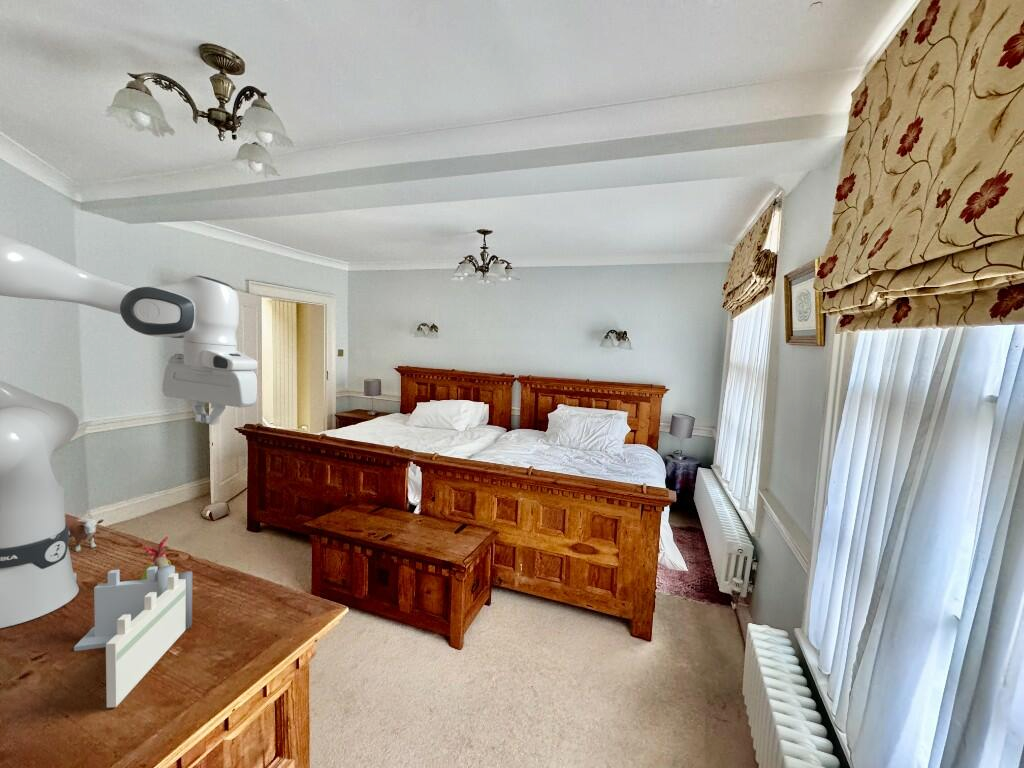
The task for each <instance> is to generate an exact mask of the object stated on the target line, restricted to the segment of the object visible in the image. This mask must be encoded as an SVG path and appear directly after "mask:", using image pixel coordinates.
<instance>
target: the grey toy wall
mask: <svg viewBox="0 0 1024 768" xmlns="http://www.w3.org/2000/svg"><path fill="white" fill-rule="evenodd" d="M172 565H173V564H171V565H169V566H164V567H162V568H160V569H158V566H155V567H149V568H148V569H147V579H146V580H140V579H137V580H125V581H120V579H121V578H120V576H121V574H120V571H121V570H120V569H111V570H110V571H108V572H107V582H104V583H97V585H96V586H95V587H93V588H94V589H93V591H94V592H93V595H94V596H93V598H94V599H93V600H94V603H93V604H94V605H93V606H94V608H93V609H94V626H92V627H91V629H90V630H89V631H88V632H87V633H86V634H85V635H84V636H82V638H81V639H80V640H79V641H78V642H77V643H76V644H75V645H74V646H73V651H74V652H80V651H85V650H94V649H101V648H106V643H107V642H109V641H110V640H111V639H112V638H113V637H114V636H115V635H116V634H117V620H118V619H119V618H120V617H121V616H122V615H125V614H131V621H132V620H133V619H134V618H135V617H137V616H138V615H139V614H140V613H141V612H142V611H143V610H144V597H145V596H146V595H147V594H148V593H149V592H157V598H158V597H159V596H160V595H161V594H162V593H164V592H165V591H166V590H167V581H168V576H169V575H171V574H172V573H176V566H175V565H173V566H172Z"/></svg>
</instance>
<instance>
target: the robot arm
mask: <svg viewBox="0 0 1024 768" xmlns="http://www.w3.org/2000/svg"><path fill="white" fill-rule="evenodd" d="M0 296H2V297H8V298H19V299H28V300H29V299H30V300H31V299H32V300H33V299H34V300H45V301H46V300H47V301H58V302H66V303H75V304H81V305H84V306H89V307H92V308H96V309H99V310H104V311H107V312H110V313H114V314H118V315H120V316H121V318H122V320H123V321H124V323H125V324H126V326H128V327H129V328H130V329H132V330H133V331H134V332H137V333H139V334H142V335H146V336H149V337H155V338H156V337H157V338H158V337H161V338H164V337H165V338H172V339H183V338H184V342H183V343H184V344H183V345H184V346H183V354H182V353H175V354H173V355H171V356H170V357H169V359H168V364H167V365H166V367H165V369H164V374H163V379H162V387H161V388H162V389H161V391H162V393H163V395H164V397H169V398H174V399H181V400H188V401H190V406H191V408H192V411H193V413H194V415H195V417H194V422H196V423H201V424H204V423H206V424H207V425H212V426H214V425H219V424H220V418H221V416H222V414H223V412H225V409H226V406H227V407H234V408H248V407H252V406H254V405H255V404H256V402H257V399H258V377H257V374H256V372H254V371H256V370H257V369H258V367H259V366H258V365H259V364H258V360H256V359H254V358H252V357H250V356H248V355H246V354H245V353H243V352H241V351H239V350H238V340H237V330H238V328H239V325H240V300H239V294H238V292H237V291H236V289H235V288H234V287H233V286H231V285H230V284H228V283H227V282H224V281H223V282H222V281H221V280H219V279H215V278H211V277H207V276H204V275H203V276H202V275H193V276H191V277H190V278H187V279H185V280H182V281H178V282H174V283H173V282H172V283H168V284H162V285H151V286H142V287H141V286H140V287H135V286H131V285H129V284H125V283H123V282H118V281H115V280H112V279H109V278H106V277H103V276H100V275H97V274H93V273H92V272H88V271H86V270H85V269H81V268H80V267H77V266H75V265H73V264H71V263H68V262H67V261H64V260H62V259H60V258H59V257H56V256H54V255H52V254H50V253H48V252H46V251H44V250H42V249H40V248H38V247H36V246H33V245H31V244H30V243H27V242H24V241H22V240H20V239H18V238H16V237H13V236H11V235H9V234H7V233H4V232H1V231H0ZM206 403H207V404H210V408H211V409H212V410H211V412H210V413H207V412H206V409H205V406H206ZM79 422H80V421H79V417H78V416H77V413H76V412H75V411H74V410H73V409H72V408H70V407H69V406H67V405H65V404H62V403H60V402H57V401H56V402H55V401H52V400H49V399H45V398H42V397H40V396H38V395H36V394H33V393H31V392H29V391H27V390H24V389H22V388H20V387H17V386H15V385H12V384H10V383H8V382H5V381H2V380H0V629H2V628H7V627H11V626H16V625H18V624H22V623H25V622H28V621H32V620H34V619H37V618H39V617H42V616H45V615H46V614H49V613H51V612H53V611H56V610H57V609H60V608H61V607H63V606H65V605H66V604H68V603H70V602H71V601H72V600H73V599H74V598H75V597H76V596H77V595H78V593H79V591H80V587H79V585H78V583H77V579H78V576H77V575H78V574H77V573H76V572H74V568H73V563H72V558H71V557H72V556H71V552H70V548H69V544H70V543H69V541H70V538H69V535H70V532H69V528H68V525H66V524H65V518H66V502H65V501H66V495H65V493H66V492H65V488H64V486H62V485H61V484H59V483H58V481H57V479H56V476H55V474H54V471H53V469H52V463H51V459H52V455H53V453H55V452H57V451H58V450H61V449H62V448H64V447H65V446H66V445H68V444H69V443H70V441H71V440H72V439H73V438H74V436H75V435H76V434H77V431H78V429H79V425H80V424H79Z"/></svg>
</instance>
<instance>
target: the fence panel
mask: <svg viewBox="0 0 1024 768" xmlns="http://www.w3.org/2000/svg"><path fill="white" fill-rule="evenodd" d="M192 626H193V571H192V570H186V571H182V572H181V573H179V572H175V573H172V574H171V575H169V576H168V581H167V590H166V591H165V592H164V593H162V594H161V595H160V596H159V597H158V598H157V592H149V593H148V594H147V595H146V596H145V597H144V610H143V611H142V612H141V613H140V614H139V615H138V616H137V617H135V618H134V619H133V620H132V621H131V614H125V615H122V616H121V617H120V618H119V619H118V620H117V634H116V635H115V636H114V637H113V638H112V639H111V640H110V641H109V642H107V643H106V647H105V667H106V668H105V674H106V675H105V681H106V683H105V684H106V686H105V687H106V689H105V690H106V691H105V692H106V708H117V707H118V706H119V705H120V703H122V702H123V700H124V699H125V698H126V697H127V695H129V694H130V692H131V691H132V690H133V689H134V688H135V687H136V686H137V684H138V683H139V682H140V681H141V680H142V679H143V678H144V677H145V675H147V673H148V672H149V671H150V670H151V669H152V668H153V667H154V666H155V665H156V664H157V662H158V661H159V660H161V658H162V657H163V656H164V654H165V653H166V652H167V651H168V650H169V649H170V648H171V647H172V646H173V645H174V643H175V642H176V641H177V640H178V639H179V638H180V637H181V636H182V635H183V634H184V632H185V631H186V630H188V629H190V628H191V627H192Z"/></svg>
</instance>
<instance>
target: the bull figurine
mask: <svg viewBox="0 0 1024 768" xmlns="http://www.w3.org/2000/svg"><path fill="white" fill-rule="evenodd" d="M103 522H104V519H100V520H95V519H92V518H84V519H82V518H81V519H78V518H72V517H71V518H70V517H65V524H66V525H68V528H69V532H70V535H69V544H70V543H71V541H70V540H74V539H75V544H76V546H75V548H74V550H75V553H78V552H81V551H82V548H81V544H82V541H84V542H87V541H88V542H89V544H90V545H89V546H90V548H91V549H95V548H94V547H96V548H97V547H98V546H97V544H96V543H95V539H94V534H96V533H97V531H96V529H97V525H99V524H101V523H103Z"/></svg>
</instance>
